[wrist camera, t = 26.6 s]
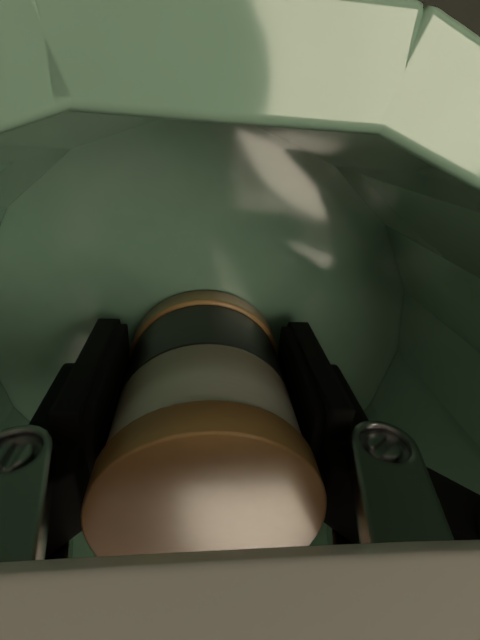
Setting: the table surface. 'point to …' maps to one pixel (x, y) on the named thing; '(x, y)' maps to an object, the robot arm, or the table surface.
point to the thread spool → (203, 440)
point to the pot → (249, 191)
